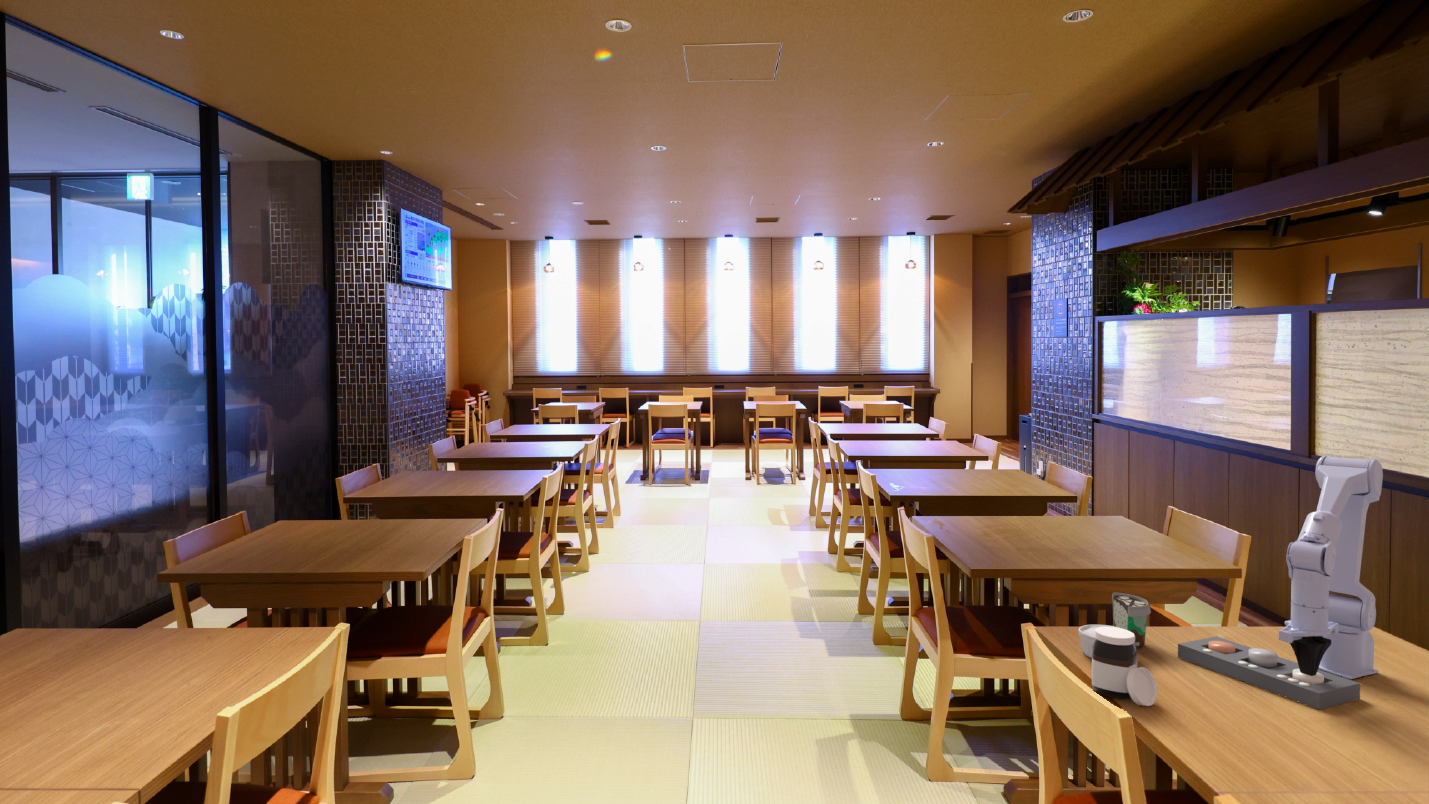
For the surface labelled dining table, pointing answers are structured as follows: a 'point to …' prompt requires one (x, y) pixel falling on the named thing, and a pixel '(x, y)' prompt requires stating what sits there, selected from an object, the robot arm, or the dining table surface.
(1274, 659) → the button two
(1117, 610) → the food container
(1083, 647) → the ramekin
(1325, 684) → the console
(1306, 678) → the button three
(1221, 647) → the button one
